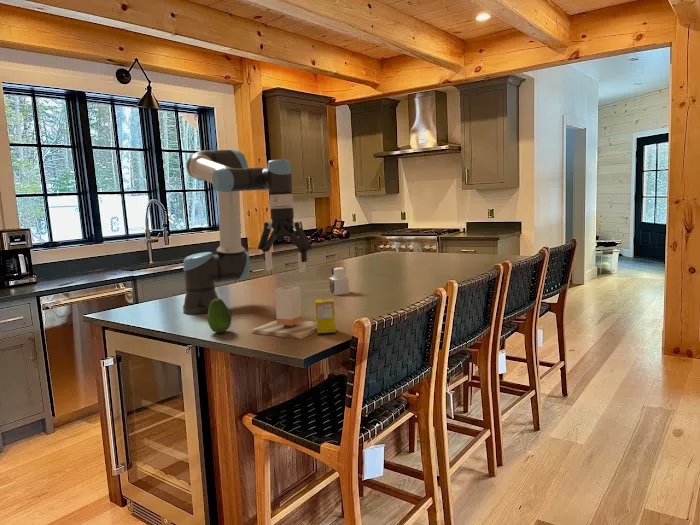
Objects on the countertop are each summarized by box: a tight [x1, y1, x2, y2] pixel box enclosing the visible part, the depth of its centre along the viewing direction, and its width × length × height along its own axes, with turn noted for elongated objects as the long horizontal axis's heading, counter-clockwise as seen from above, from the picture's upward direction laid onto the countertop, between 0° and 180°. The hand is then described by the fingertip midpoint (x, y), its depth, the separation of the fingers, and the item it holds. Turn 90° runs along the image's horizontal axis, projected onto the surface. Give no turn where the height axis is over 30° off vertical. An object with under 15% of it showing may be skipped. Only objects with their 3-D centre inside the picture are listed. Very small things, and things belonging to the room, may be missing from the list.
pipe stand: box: [251, 319, 317, 340], centre depth 178 cm, size 20×16×12 cm
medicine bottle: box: [329, 266, 350, 296], centre depth 237 cm, size 7×7×12 cm
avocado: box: [206, 297, 232, 334], centre depth 178 cm, size 8×8×12 cm
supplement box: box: [315, 297, 337, 336], centre depth 172 cm, size 6×6×11 cm
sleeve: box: [274, 285, 302, 320], centre depth 177 cm, size 6×6×10 cm
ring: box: [276, 316, 303, 326], centre depth 178 cm, size 6×6×2 cm
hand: (285, 271), depth 176 cm, fingers open, 13 cm apart
